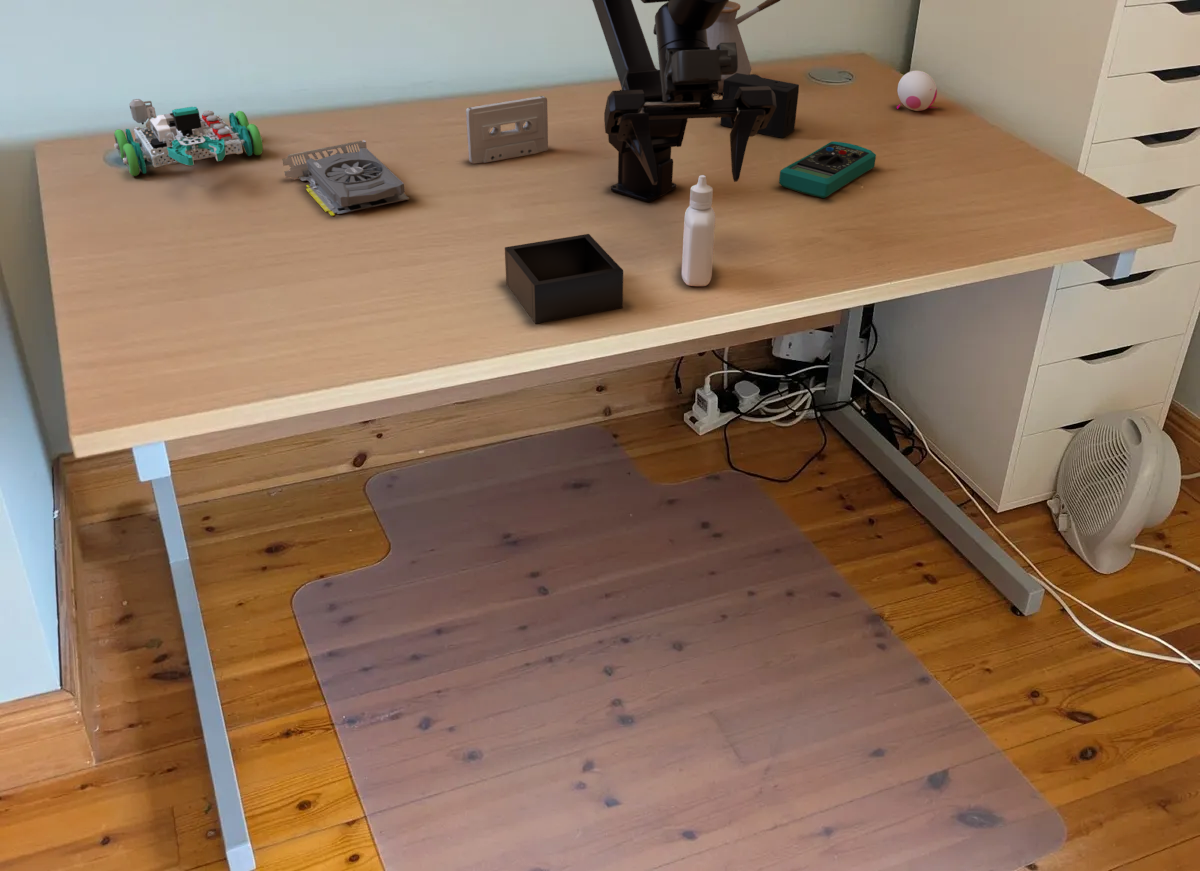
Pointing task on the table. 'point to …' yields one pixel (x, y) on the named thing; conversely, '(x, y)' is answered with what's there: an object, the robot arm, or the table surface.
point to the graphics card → (346, 179)
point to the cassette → (510, 141)
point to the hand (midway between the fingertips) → (696, 181)
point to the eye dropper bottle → (698, 235)
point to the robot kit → (184, 137)
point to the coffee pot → (732, 34)
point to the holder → (563, 278)
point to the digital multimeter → (827, 169)
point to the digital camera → (785, 102)
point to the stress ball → (917, 91)
